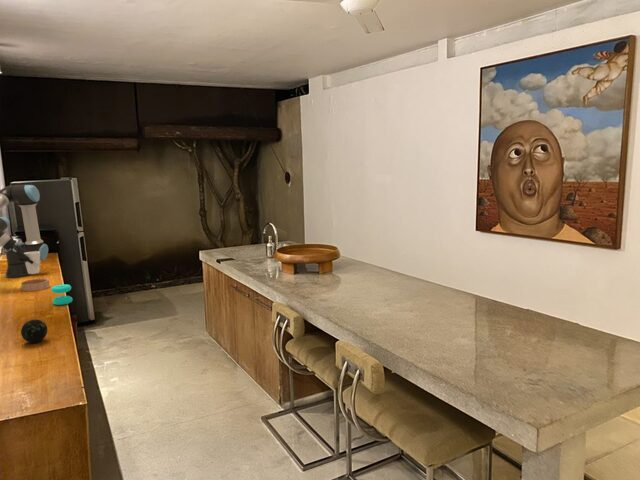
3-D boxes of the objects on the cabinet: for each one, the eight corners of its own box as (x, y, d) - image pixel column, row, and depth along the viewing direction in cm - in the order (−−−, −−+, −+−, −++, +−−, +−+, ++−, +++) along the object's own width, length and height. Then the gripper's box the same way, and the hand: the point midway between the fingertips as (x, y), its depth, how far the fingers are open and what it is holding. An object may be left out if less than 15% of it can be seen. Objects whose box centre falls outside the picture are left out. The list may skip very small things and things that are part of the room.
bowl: (24, 287, 318) (23, 280, 317) (50, 284, 324) (49, 277, 323) (20, 292, 304) (20, 285, 304) (48, 289, 310) (47, 282, 310)
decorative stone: (53, 337, 222) (50, 316, 220) (41, 345, 212) (38, 323, 210) (30, 338, 221) (27, 316, 220) (17, 346, 211) (14, 324, 210)
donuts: (72, 283, 283) (68, 287, 273) (74, 300, 284) (70, 304, 275) (53, 284, 280) (48, 288, 270) (55, 301, 282) (50, 306, 272)
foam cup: (45, 271, 316) (43, 251, 314) (35, 274, 307) (33, 253, 305) (31, 271, 317) (29, 251, 315) (21, 274, 308) (19, 254, 306)
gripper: (5, 244, 313) (36, 266, 322) (-2, 249, 293) (32, 272, 302) (13, 235, 315) (44, 257, 323) (8, 239, 295) (41, 263, 303)
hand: (38, 264), depth 313 cm, fingers closed on foam cup, 9 cm apart
